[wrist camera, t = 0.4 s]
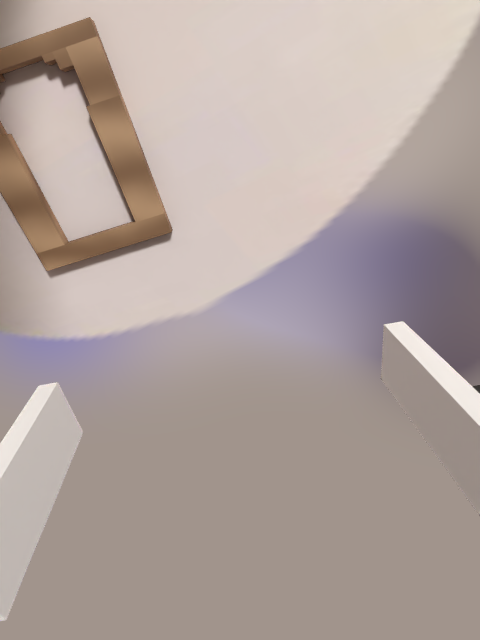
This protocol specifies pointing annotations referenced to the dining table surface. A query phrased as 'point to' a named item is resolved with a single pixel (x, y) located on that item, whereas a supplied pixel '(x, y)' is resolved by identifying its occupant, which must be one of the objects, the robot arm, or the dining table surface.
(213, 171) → the dining table surface
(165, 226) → the keyhole board
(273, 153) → the dining table surface
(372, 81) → the dining table surface
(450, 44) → the dining table surface
